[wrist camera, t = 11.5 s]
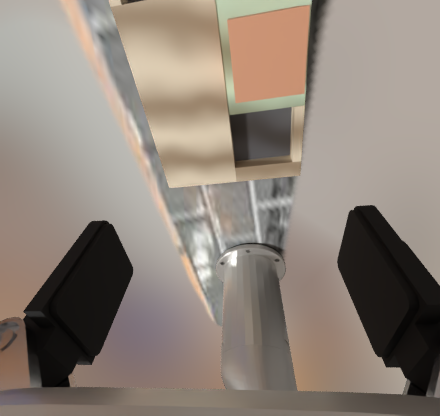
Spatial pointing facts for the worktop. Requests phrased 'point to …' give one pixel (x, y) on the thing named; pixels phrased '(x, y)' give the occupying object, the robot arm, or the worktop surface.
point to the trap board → (206, 93)
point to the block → (269, 53)
